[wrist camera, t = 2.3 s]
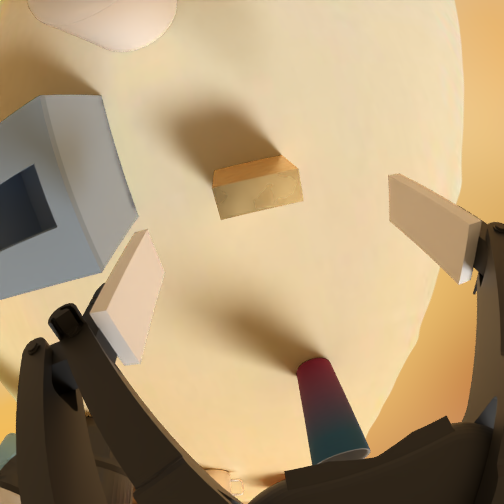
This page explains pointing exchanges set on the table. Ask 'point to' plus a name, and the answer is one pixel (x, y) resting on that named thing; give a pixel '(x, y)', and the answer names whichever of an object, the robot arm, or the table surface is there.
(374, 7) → the table surface
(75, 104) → the grey hollow box
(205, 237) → the table surface
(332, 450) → the cup
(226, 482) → the mug
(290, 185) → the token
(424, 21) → the table surface
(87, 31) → the pill bottle
